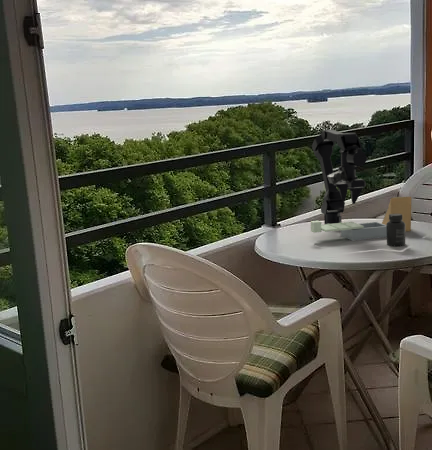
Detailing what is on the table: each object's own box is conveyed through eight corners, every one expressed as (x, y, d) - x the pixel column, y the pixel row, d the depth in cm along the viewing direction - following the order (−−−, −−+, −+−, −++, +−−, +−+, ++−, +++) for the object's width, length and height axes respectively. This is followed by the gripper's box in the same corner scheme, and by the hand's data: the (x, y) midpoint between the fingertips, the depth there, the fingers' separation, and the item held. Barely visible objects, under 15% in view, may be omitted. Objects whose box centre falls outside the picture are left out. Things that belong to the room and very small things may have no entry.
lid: (317, 234, 246) (317, 224, 245) (307, 229, 255) (307, 219, 255) (363, 229, 251) (363, 219, 250) (352, 225, 260) (351, 215, 259)
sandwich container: (399, 225, 277) (399, 191, 274) (411, 232, 262) (412, 196, 259) (379, 226, 277) (379, 192, 274) (390, 234, 262) (390, 197, 259)
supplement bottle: (405, 244, 243) (406, 212, 240) (404, 248, 236) (405, 216, 234) (387, 243, 245) (387, 212, 243) (385, 247, 238) (385, 216, 236)
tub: (352, 242, 250) (351, 230, 249) (340, 237, 260) (340, 225, 259) (389, 238, 254) (389, 226, 253) (376, 233, 264) (376, 221, 263)
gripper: (320, 163, 267) (320, 200, 270) (340, 167, 250) (340, 207, 253) (344, 161, 270) (345, 198, 273) (366, 165, 252) (366, 204, 255)
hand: (348, 202), depth 263 cm, fingers open, 9 cm apart
